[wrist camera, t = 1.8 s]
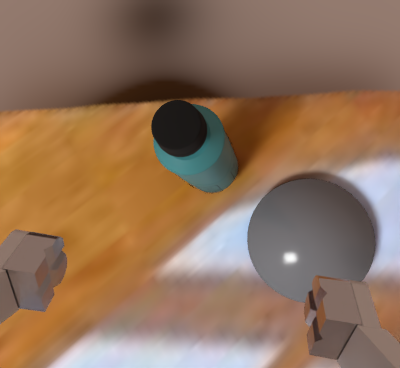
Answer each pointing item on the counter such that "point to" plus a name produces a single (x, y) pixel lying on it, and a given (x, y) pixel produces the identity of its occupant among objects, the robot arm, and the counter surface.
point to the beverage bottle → (194, 145)
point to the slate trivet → (309, 236)
